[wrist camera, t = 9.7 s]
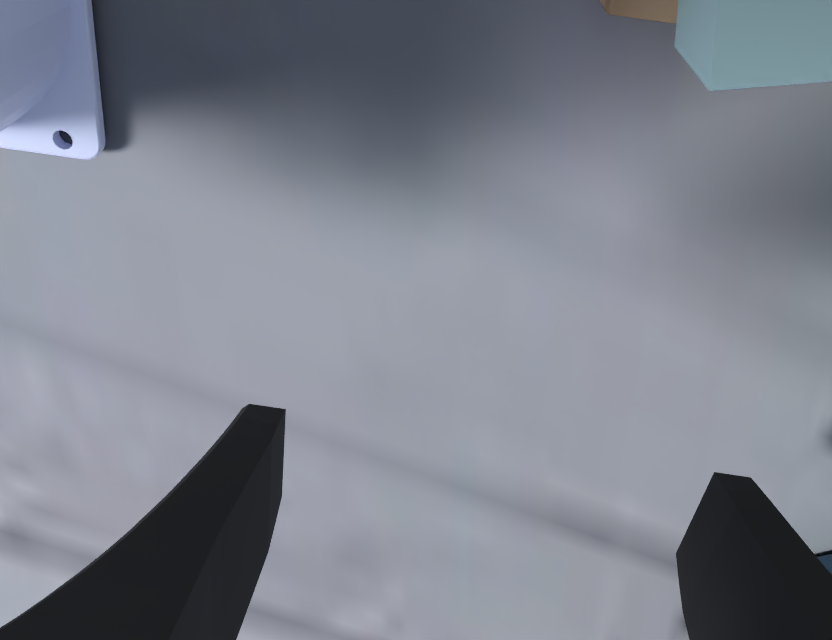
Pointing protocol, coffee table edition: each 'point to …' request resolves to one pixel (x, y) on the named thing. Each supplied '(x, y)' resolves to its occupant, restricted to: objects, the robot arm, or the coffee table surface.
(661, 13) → the tower base
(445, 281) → the coffee table surface
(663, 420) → the coffee table surface
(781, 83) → the tower top
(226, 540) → the robot arm
